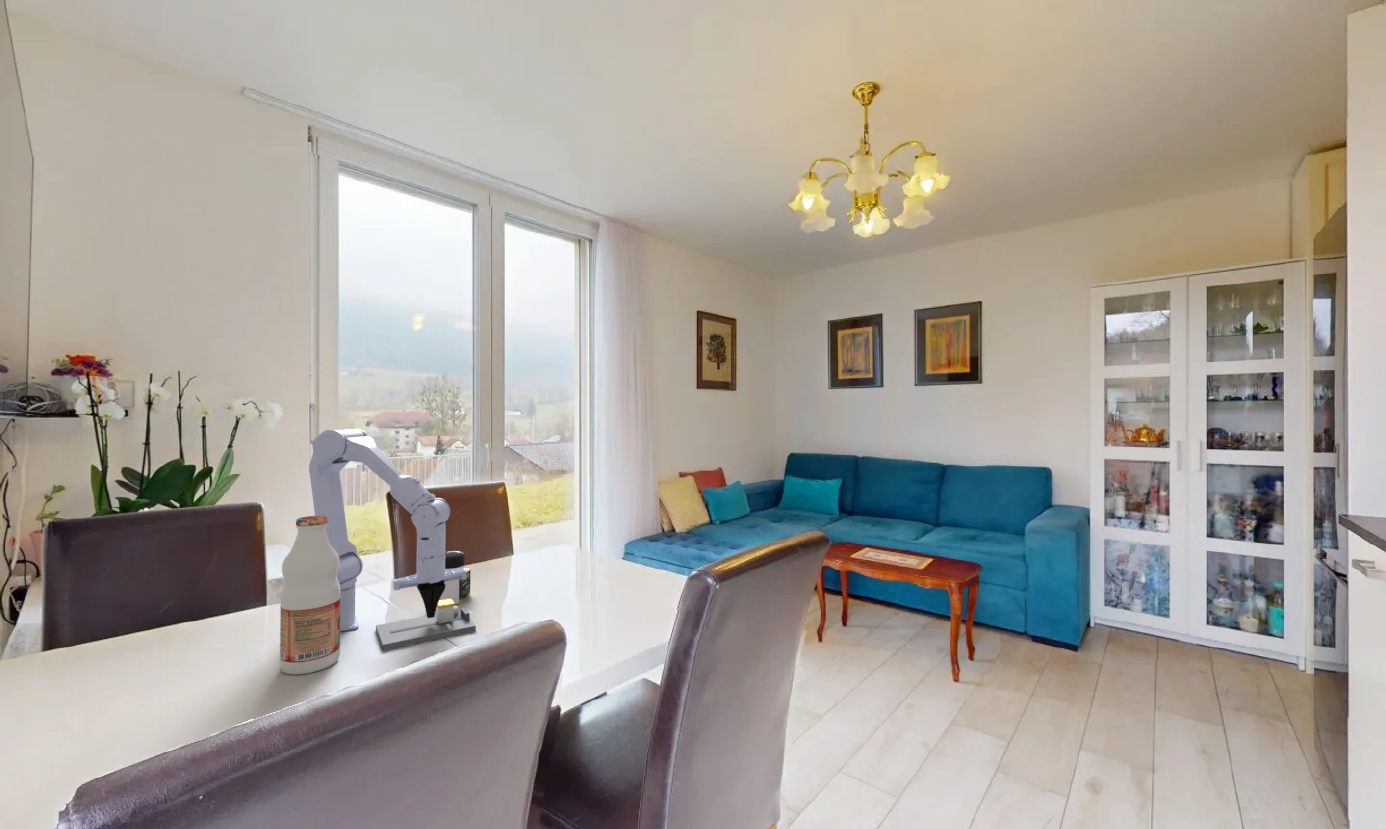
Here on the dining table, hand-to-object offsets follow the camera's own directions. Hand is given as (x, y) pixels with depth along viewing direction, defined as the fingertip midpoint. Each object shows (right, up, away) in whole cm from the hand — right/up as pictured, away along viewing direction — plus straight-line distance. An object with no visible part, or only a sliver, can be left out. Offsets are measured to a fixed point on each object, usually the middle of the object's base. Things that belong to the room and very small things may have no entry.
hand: (430, 616), depth 122 cm
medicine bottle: (-4, -3, +19) cm, 20 cm away
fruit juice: (-15, -3, -17) cm, 23 cm away
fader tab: (+2, -2, +2) cm, 3 cm away
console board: (-1, -3, 0) cm, 3 cm away
